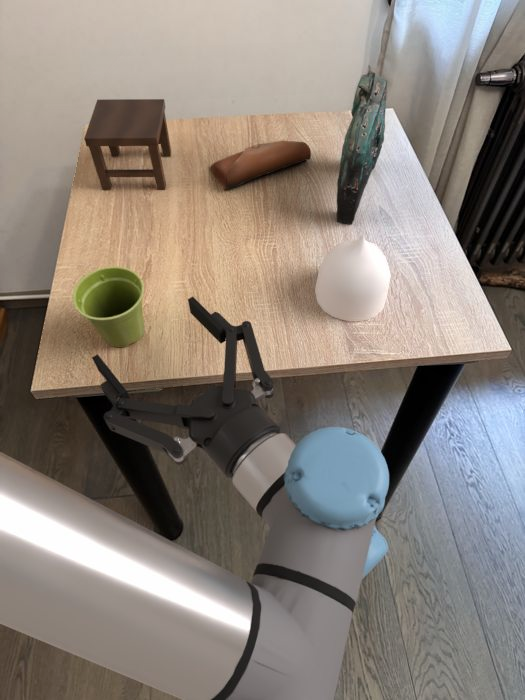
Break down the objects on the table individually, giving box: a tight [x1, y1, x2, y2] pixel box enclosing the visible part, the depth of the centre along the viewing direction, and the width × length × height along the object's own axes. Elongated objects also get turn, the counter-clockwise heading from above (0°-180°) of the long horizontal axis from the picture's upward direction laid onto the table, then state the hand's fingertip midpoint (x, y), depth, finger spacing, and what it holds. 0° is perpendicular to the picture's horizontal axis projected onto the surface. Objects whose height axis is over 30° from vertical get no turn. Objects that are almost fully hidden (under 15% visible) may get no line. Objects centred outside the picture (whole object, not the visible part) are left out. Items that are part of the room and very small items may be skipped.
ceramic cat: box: [335, 65, 388, 225], centre depth 84 cm, size 20×6×20 cm, turn 164°
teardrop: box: [314, 234, 392, 323], centre depth 73 cm, size 11×11×12 cm
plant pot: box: [72, 265, 145, 348], centre depth 71 cm, size 9×9×9 cm
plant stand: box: [83, 98, 172, 191], centre depth 92 cm, size 12×12×10 cm
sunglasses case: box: [210, 140, 312, 191], centre depth 95 cm, size 18×7×7 cm
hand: (146, 332), depth 63 cm, fingers open, 13 cm apart
